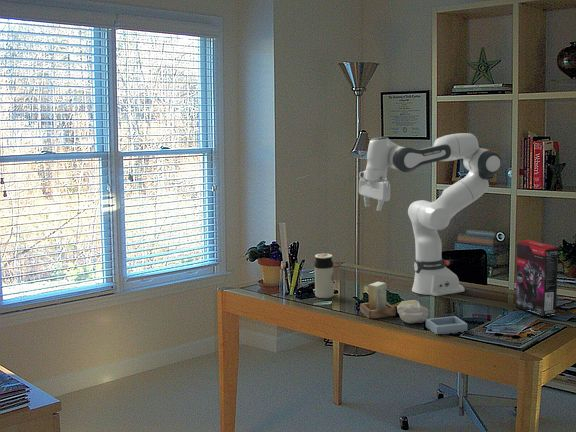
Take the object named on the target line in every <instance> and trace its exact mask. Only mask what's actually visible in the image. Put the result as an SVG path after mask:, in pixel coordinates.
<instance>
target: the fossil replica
mask: <svg viewBox="0 0 576 432" xmlns="http://www.w3.org/2000/svg"><path fill="white" fill-rule="evenodd" d="M396 310H397V311H396V312H397V313H398V314H399V317H400V319H401V320H402V321H404V322H405V323H407V324H415V323H419V324H420V323H421V324H422V323H424V322H426V319H429V318H428V317H429V315H430V313H429V312H430V310H429V309H428V308H427V307H425V306H422V305H421V303H420V302H419V300H417V299H411V300H410V299H409V300H401V302H399V304H398V305H397V306H396Z"/></svg>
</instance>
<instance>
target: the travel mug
mask: <svg viewBox="0 0 576 432" xmlns="http://www.w3.org/2000/svg"><path fill="white" fill-rule="evenodd" d="M314 257H315V261H314V296H315V297H316V298H318V299H330V298H332V297H334V296H335V294H334V293H335V290H334V288H335V287H334V285H335V284H334V283H335V282H334V262H333V260H332V258H333V255H332V254H330V253H317V254H315V255H314Z"/></svg>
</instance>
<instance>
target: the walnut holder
mask: <svg viewBox="0 0 576 432" xmlns="http://www.w3.org/2000/svg"><path fill="white" fill-rule="evenodd" d="M386 305H387V307H388V309H378V310H370V309H369V302H365V303H362V302H361V303H360V304H359V311H360V312H361V313H362V314H363V315H364V316H365V315H366V318H368V319H369V318H371V319H379V318H380V319H381V318H387V317H396V316H397V315H396V314H397V313H396V312H397V311H396V310H397V307H394V306H393V305H392V304H390V303H389V302H388V301H386Z"/></svg>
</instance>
